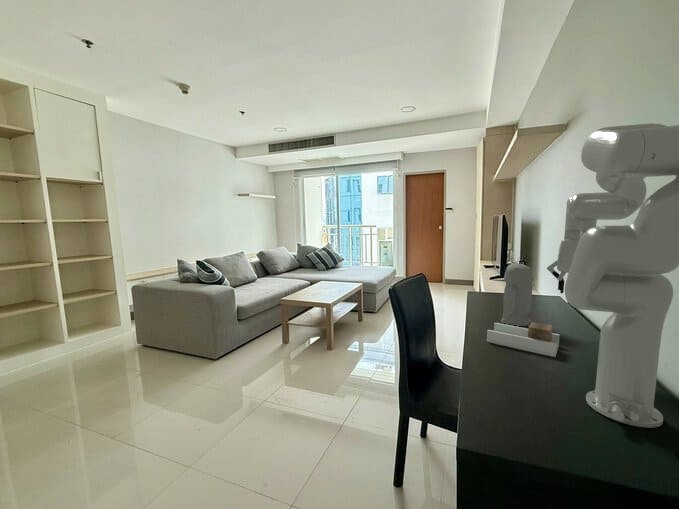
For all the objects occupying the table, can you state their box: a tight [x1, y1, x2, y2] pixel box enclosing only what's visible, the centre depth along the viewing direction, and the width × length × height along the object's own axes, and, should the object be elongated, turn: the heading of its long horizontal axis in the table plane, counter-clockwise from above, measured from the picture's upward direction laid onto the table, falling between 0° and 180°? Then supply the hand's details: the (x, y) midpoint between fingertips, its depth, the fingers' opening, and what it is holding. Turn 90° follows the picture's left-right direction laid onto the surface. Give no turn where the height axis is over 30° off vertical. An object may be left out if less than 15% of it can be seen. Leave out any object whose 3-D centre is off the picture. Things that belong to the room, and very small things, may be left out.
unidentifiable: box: [500, 263, 534, 327], centre depth 129 cm, size 15×10×25 cm
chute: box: [486, 322, 560, 358], centre depth 107 cm, size 20×12×4 cm, turn 51°
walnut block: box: [527, 321, 553, 342], centre depth 103 cm, size 6×7×6 cm
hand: (575, 293), depth 96 cm, fingers open, 6 cm apart
